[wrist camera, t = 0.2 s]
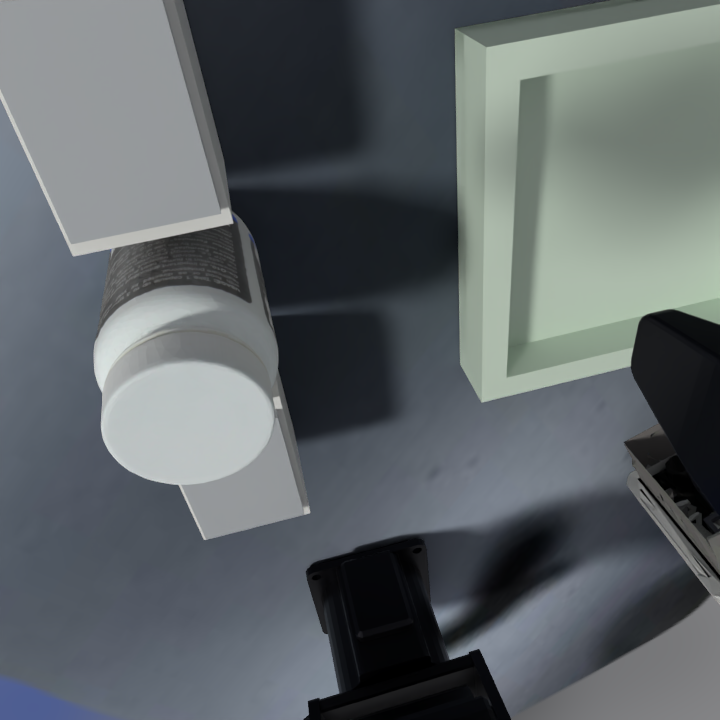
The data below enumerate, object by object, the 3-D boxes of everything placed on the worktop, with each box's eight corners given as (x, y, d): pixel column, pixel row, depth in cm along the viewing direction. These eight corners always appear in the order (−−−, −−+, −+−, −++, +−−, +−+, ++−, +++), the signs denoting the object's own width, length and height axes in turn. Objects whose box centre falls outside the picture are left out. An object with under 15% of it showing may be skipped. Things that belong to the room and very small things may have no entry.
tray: (737, 298, 28) (778, 330, 26) (460, 363, 27) (481, 402, 25) (848, -43, 20) (919, -33, 18) (454, 28, 19) (486, 47, 17)
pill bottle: (79, 253, 20) (31, 435, 14) (185, 159, 19) (188, 307, 13) (188, 339, 23) (192, 522, 17) (286, 260, 22) (330, 423, 16)
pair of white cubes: (293, 430, 27) (312, 521, 23) (201, 452, 27) (204, 549, 23) (163, -75, 16) (158, -56, 12) (-3, -49, 15) (-62, -21, 11)
